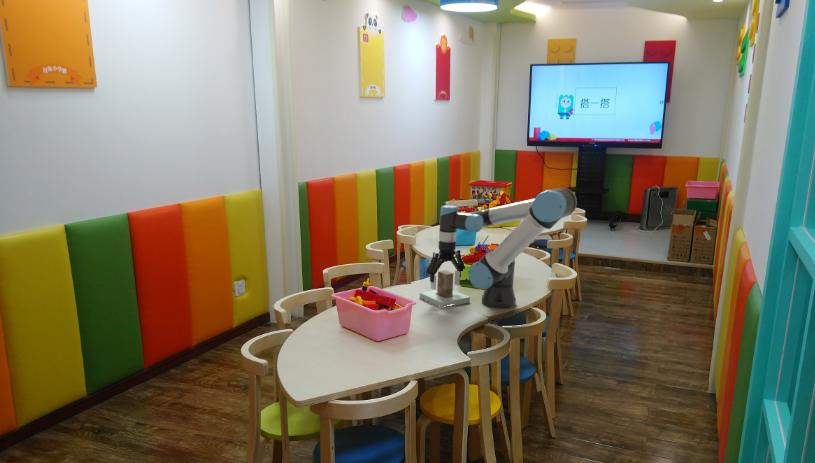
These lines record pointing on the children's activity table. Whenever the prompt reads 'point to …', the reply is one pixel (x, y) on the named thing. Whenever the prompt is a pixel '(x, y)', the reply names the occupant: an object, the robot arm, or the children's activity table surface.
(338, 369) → the children's activity table surface
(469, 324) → the children's activity table surface
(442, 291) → the walnut peg
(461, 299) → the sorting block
